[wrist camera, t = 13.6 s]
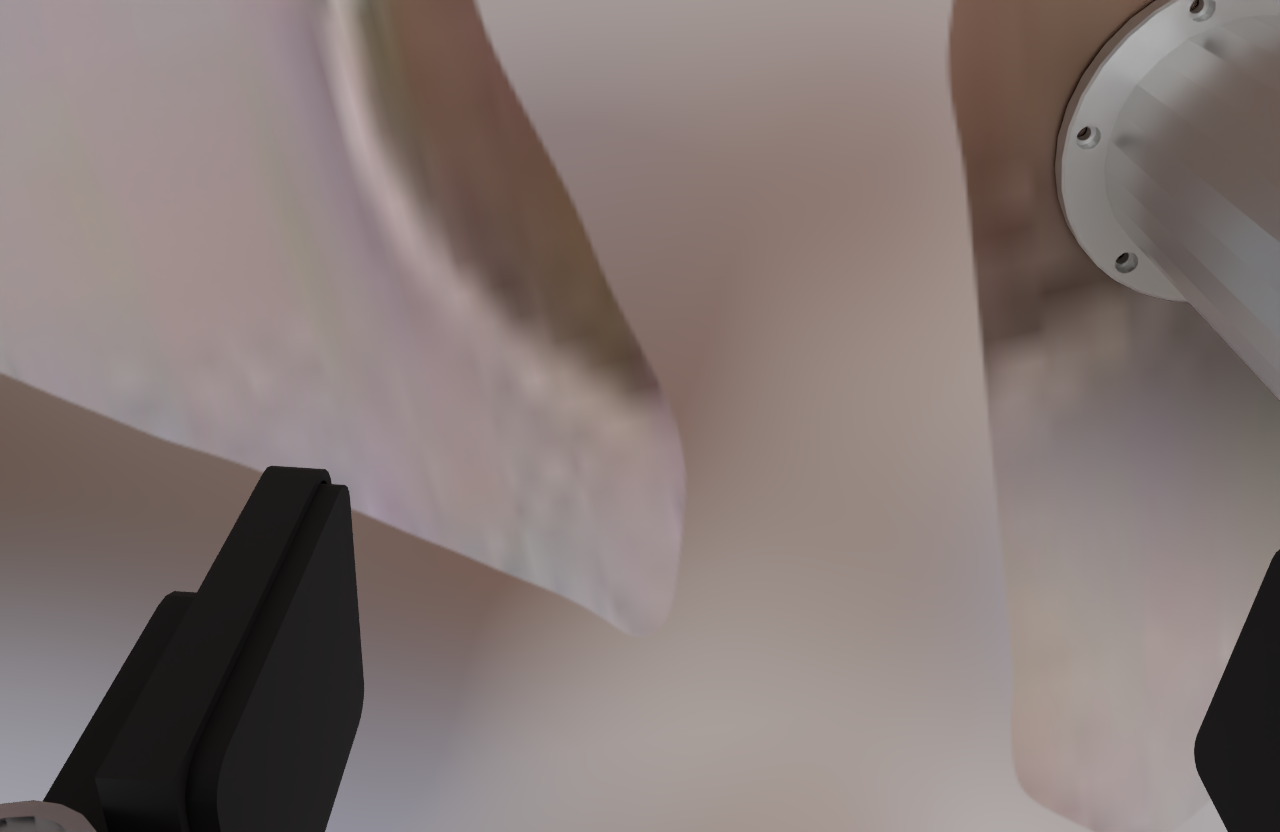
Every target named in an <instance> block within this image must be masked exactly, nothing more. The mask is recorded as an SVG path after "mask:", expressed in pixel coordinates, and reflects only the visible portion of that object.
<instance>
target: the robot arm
mask: <svg viewBox="0 0 1280 832" xmlns="http://www.w3.org/2000/svg"><path fill="white" fill-rule="evenodd" d="M1193 1H1194V0H1156V1H1154V2H1153V3H1151V4H1150V5H1149V6H1147V7H1146V8H1145V9H1143V10H1142V11H1140V12H1139V13H1138V14H1136V15H1135V16H1134V17H1132V18H1131V19H1130V20H1129V21H1128V22H1127V23H1126V24H1125V25H1124V26H1123V27H1122V28H1121V29H1120V30H1119V31H1118V32H1117V33H1116V34H1115V35H1114V36H1113V37H1112V38H1111V39H1110V40H1109V41H1108V42H1107V43H1106V44H1105V45H1104V46H1103V48H1102V49H1101V50H1100V52H1099V53H1098V54H1097V56H1096V57H1095V59H1094V60H1093V61H1092V63H1091V64H1090V65H1089V67H1088V68H1087V70H1086V71H1085V72H1084V74H1083V75H1082V77H1081V79H1080V81H1079V83H1078V85H1077V87H1076V89H1075V91H1074V93H1073V95H1072V97H1071V99H1070V101H1069V103H1068V105H1067V109H1066V112H1065V115H1064V119H1063V122H1062V125H1061V129H1060V132H1059V135H1058V142H1057V151H1056V161H1055V176H1056V186H1057V196H1058V200H1059V203H1060V206H1061V209H1062V212H1063V215H1064V218H1065V221H1066V224H1067V225H1068V227H1069V229H1070V230H1071V232H1072V234H1073V235H1074V237H1075V239H1076V240H1077V242H1078V244H1079V245H1080V247H1081V248H1082V249H1083V250H1084V251H1085V252H1086V254H1087V255H1088V256H1089V257H1090V258H1091V259H1092V261H1093V262H1094V263H1095V264H1096V265H1097V266H1098V267H1099V268H1100V269H1101V270H1103V271H1104V272H1105V273H1106V274H1107V275H1109V276H1110V277H1111V278H1112V279H1114V280H1115V281H1117V282H1119V283H1121V284H1123V285H1125V286H1127V287H1129V288H1131V289H1133V290H1135V291H1137V292H1139V293H1141V294H1145V295H1149V296H1153V297H1156V298H1160V299H1164V300H1168V301H1179V302H1189V303H1190V304H1191V305H1192V306H1193V307H1194V308H1195V309H1196V310H1197V311H1198V313H1199V314H1200V315H1201V316H1202V317H1203V318H1204V319H1205V320H1206V321H1207V322H1208V323H1209V324H1210V325H1211V327H1212V328H1213V329H1214V330H1215V331H1216V332H1217V333H1218V334H1219V335H1220V336H1221V337H1222V338H1223V340H1224V341H1225V342H1226V343H1227V344H1228V345H1229V346H1230V347H1231V348H1232V349H1233V350H1234V351H1235V353H1236V354H1237V355H1238V356H1239V357H1240V358H1241V359H1242V360H1243V361H1244V362H1245V363H1246V364H1247V365H1248V367H1249V368H1250V369H1251V370H1252V371H1253V372H1254V373H1255V374H1256V375H1257V376H1258V377H1259V378H1260V380H1261V381H1262V382H1263V383H1264V384H1265V385H1266V386H1267V387H1268V388H1269V389H1270V390H1271V391H1272V393H1273V394H1274V395H1275V396H1276V397H1277V398H1278V399H1279V400H1280V0H1199V5H1198V6H1197V8H1196V9H1194V10H1192V11H1190V6H1191V5H1192V3H1193ZM1084 127H1087V132H1086V134H1085V135H1083V136H1081V137H1077V135H1078V133H1079V131H1080V130H1082V129H1083V128H1084ZM1123 253H1125V254H1124V256H1123V257H1122V258H1120V259H1117V258H1118V257H1119V256H1120V255H1122V254H1123ZM363 699H364V678H363V665H362V653H361V639H360V626H359V612H358V599H357V585H356V572H355V560H354V546H353V533H352V519H351V506H350V495H349V490H348V487H347V486H346V485H335V484H331V478H330V475H329V473H328V471H327V470H325V469H312V468H297V467H281V466H270V467H267V469H266V470H265V471H264V473H263V474H262V476H261V478H260V480H259V482H258V483H257V485H256V487H255V489H254V491H253V492H252V494H251V496H250V498H249V500H248V502H247V503H246V505H245V507H244V509H243V510H242V512H241V514H240V516H239V518H238V519H237V522H236V523H235V525H234V527H233V529H232V530H231V532H230V534H229V536H228V538H227V540H226V541H225V543H224V545H223V547H222V548H221V551H220V552H219V554H218V556H217V558H216V559H215V561H214V563H213V565H212V567H211V569H210V570H209V572H208V574H207V576H206V577H205V579H204V581H203V583H202V585H201V586H200V588H199V590H198V592H197V593H194V592H179V591H174V592H172V593H170V594H168V595H167V596H165V598H164V599H163V600H162V602H161V603H160V604H159V605H158V607H157V609H156V611H155V612H154V614H153V615H152V617H151V619H150V620H149V622H148V624H147V626H146V627H145V629H144V631H143V632H142V634H141V636H140V637H139V639H138V641H137V642H136V644H135V646H134V648H133V649H132V651H131V653H130V654H129V656H128V658H127V659H126V661H125V663H124V664H123V666H122V668H121V670H120V671H119V673H118V675H117V676H116V678H115V680H114V681H113V683H112V685H111V687H110V688H109V690H108V692H107V693H106V695H105V697H104V698H103V700H102V702H101V704H100V705H99V707H98V709H97V710H96V712H95V714H94V715H93V717H92V719H91V720H90V722H89V724H88V725H87V727H86V729H85V731H84V732H83V734H82V736H81V737H80V739H79V741H78V742H77V744H76V746H75V748H74V749H73V751H72V753H71V754H70V756H69V758H68V759H67V761H66V763H65V764H64V766H63V768H62V770H61V771H60V773H59V775H58V776H57V778H56V780H55V781H54V783H53V785H52V787H51V788H50V790H49V792H48V793H47V795H46V797H45V798H44V800H43V802H42V801H34V800H32V801H22V802H13V803H4V804H0V832H325V830H326V827H327V823H328V820H329V817H330V814H331V811H332V807H333V804H334V801H335V798H336V795H337V792H338V788H339V785H340V782H341V779H342V776H343V772H344V769H345V766H346V763H347V760H348V757H349V754H350V750H351V747H352V744H353V741H354V738H355V735H356V731H357V728H358V725H359V721H360V718H361V713H362V707H363ZM1194 756H1195V764H1196V768H1197V771H1198V774H1199V776H1200V778H1201V780H1202V782H1203V784H1204V786H1205V788H1206V790H1207V792H1208V794H1209V796H1210V798H1211V800H1212V802H1213V804H1214V805H1215V807H1216V809H1217V811H1218V813H1219V815H1220V817H1221V819H1222V821H1223V823H1224V825H1225V827H1226V829H1227V831H1228V832H1280V550H1278V551H1277V552H1276V553H1275V555H1274V557H1273V559H1272V561H1271V563H1270V565H1269V568H1268V570H1267V572H1266V575H1265V577H1264V579H1263V582H1262V584H1261V586H1260V589H1259V591H1258V593H1257V596H1256V598H1255V600H1254V603H1253V605H1252V608H1251V610H1250V612H1249V615H1248V617H1247V619H1246V622H1245V624H1244V626H1243V629H1242V631H1241V633H1240V636H1239V638H1238V640H1237V643H1236V645H1235V647H1234V650H1233V652H1232V654H1231V657H1230V659H1229V661H1228V664H1227V666H1226V669H1225V671H1224V673H1223V676H1222V678H1221V680H1220V683H1219V685H1218V687H1217V690H1216V692H1215V694H1214V697H1213V699H1212V701H1211V704H1210V706H1209V708H1208V711H1207V713H1206V715H1205V718H1204V720H1203V722H1202V725H1201V727H1200V729H1199V732H1198V734H1197V737H1196V741H1195V748H1194Z"/></svg>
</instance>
